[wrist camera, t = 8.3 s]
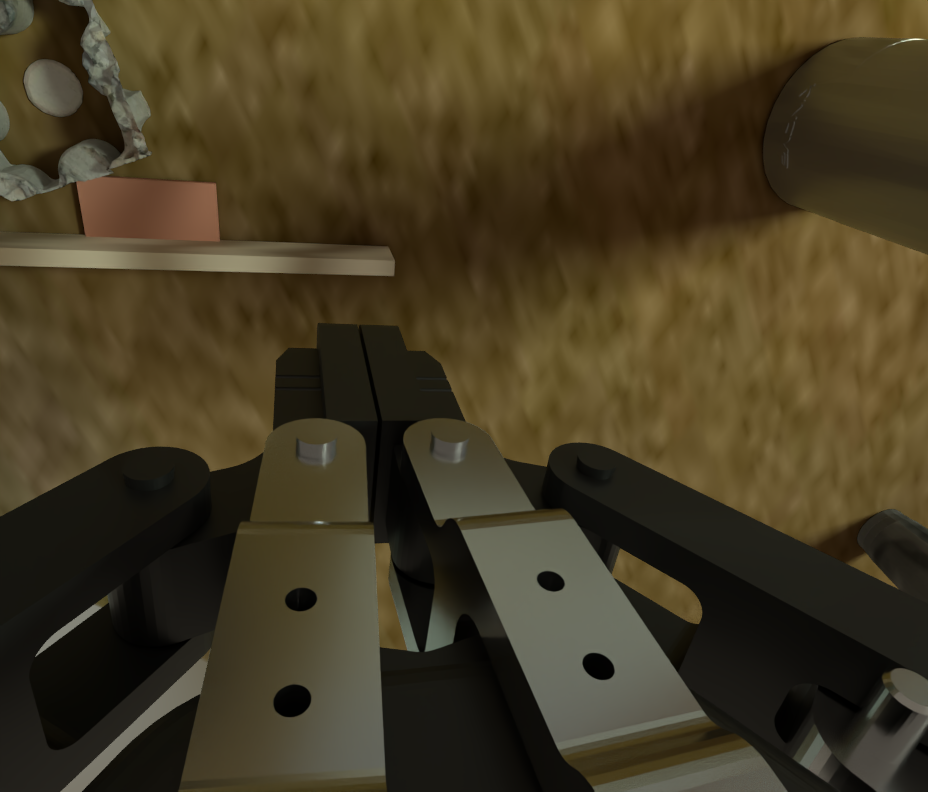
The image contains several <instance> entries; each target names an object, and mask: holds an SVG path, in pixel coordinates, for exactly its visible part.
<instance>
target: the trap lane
mask: <svg viewBox="0 0 928 792" xmlns="http://www.w3.org/2000/svg"><path fill="white" fill-rule="evenodd" d="M76 183H77V189H78V195H79V201H80V207H81V212H82V218H83V224H84V230H85V235H80V234H54V233H28V232H2V231H0V265H1V266H38V267H75V268H113V269H150V270H188V271H225V272H262V273H300V274H337V275H375V276H394V269H395V260H394V258H393V256H392V253H391V251H390V249H389V247H388V246H365V245H339V244H313V243H287V242H262V241H236V240H220V231H219V217H218V203H217V189H216V183H213V182H197V181H180V180H163V179H147V178H130V177H113V176H102V177H99V178H95V179H92V180H87V181H85V182H83V181H77V182H76Z"/></svg>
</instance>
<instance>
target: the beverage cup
mask: <svg viewBox="0 0 928 792" xmlns="http://www.w3.org/2000/svg"><path fill="white" fill-rule="evenodd" d="M857 541H858V544H859V545H860V546H861V547H862V548H863V549H864V550H865V552H866V553H867V554H868V555H869V557H870V558H871V559H872V561H873V562H874V563H875V564H876V565H877V566H878V567H879V568H880V569H881V570H882V571H883V572H884V574H885V575H886V576H887V577H888V578H889V579H890V580H891V581H892V582H893V583H894V584H895V585H896V586H897V588H898V589H899V590H901V591H903V592H905V593H907V594H909V595H911V596H913V597H915V598H917V599H919V600H921V601H923V602H925V603H927V604H928V529H927V528H925V527H924V526H922V525H921V524H919V523H918V522H916V521H914V520H912V519H910V518H909V517H907V516H905V515H903V514H902V513H901V512H900V511H897V510H895V509H889V510H885V511H882V512H880V513H878V514H876V515H874V516H873V517H872V518H870V519H869V520H868V521H867V522H866V523H865V524H864V525H863V526H862V528H861V530H860V531H859V534H858V537H857Z"/></svg>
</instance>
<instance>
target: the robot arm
mask: <svg viewBox="0 0 928 792" xmlns="http://www.w3.org/2000/svg"><path fill="white" fill-rule="evenodd" d="M763 161H764V168H765V173H766V176H767V178H768V181H769V183H770V186H771V187H772V189H773V190H774V191H775V193H776V194H777V195H778V197H780V198H781V199H783V200H784V201H785V202H787V203H788V204H790V205H793V206H796V207H798V208H801V209H804V210H807V211H809V212H812V213H815V214H818V215H820V216H823V217H826V218H828V219H831V220H834V221H836V222H839V223H841V224H844V225H847V226H849V227H852V228H855V229H858V230H861V231H863V232H866V233H869V234H872V235H875V236H877V237H880V238H883V239H886V240H888V241H891V242H894V243H897V244H900V245H902V246H905V247H908V248H911V249H913V250H916V251H919V252H922V253H925V254H927V255H928V39H906V38H866V37H859V38H851V39H844V40H842V41H839V42H836V43H834V44H831V45H829V46H827V47H825V48H824V49H822V50H821V51H819V52H818V53H816V54H814V55H813V56H812V57H811V58H810V59H808V60H807V61H806V62H805V63H804V64H803V65H802V66H801V67H800V68H799V69H798V70H797V71H796V72H795V74H794V75H793V76H792V77H791V79H790V80H789V81H788V82H787V84H786V85H785V87H784V88H783V90H782V92H781V93H780V95H779V97H778V99H777V100H776V102H775V104H774V107H773V109H772V112H771V114H770V117H769V120H768V123H767V127H766V132H765V136H764V144H763ZM446 378H447V377H446V375H445V373H444V370H443V368H442V366H441V364H440V363H439V362H438V361H437V360H435V359H434V358H433V357H431V356H430V355H429V354H428V353H426V352H425V351H407V350H406V347H405V344H404V341H403V338H402V335H401V332H400V330H399V327H398V326H384V325H359V329H358V326H357V325H353V324H326V323H318V327H317V349H313V348H288V349H287V350H286V351H285V352H284V353H283V354H282V355H281V356H280V357H279V358H278V359H277V360H276V379H275V400H274V422H273V431H272V432H271V433H270V435H269V436H268V437H267V440H266V443H265V448H264V452H263V453H262V454H260V455H259V456H257V457H256V458H254V459H252V460H250V461H248V462H246V463H243V464H240V465H238V466H234V467H230V468H226V469H221V470H217V471H212V472H210V471H209V467H208V465H207V463H206V462H205V461H204V460H203V459H202V458H201V457H200V456H198V455H197V454H195V453H193V452H190V451H187V450H184V449H179V448H173V447H147V448H141V449H136V450H132V451H128V452H125V453H122V454H119V455H117V456H114V457H112V458H110V459H108V460H106V461H104V462H103V463H101V464H99V465H97V466H95V467H93V468H91V469H89V470H87V471H86V472H84V473H82V474H80V475H78V476H76V477H74V478H72V479H70V480H69V481H67V482H65V483H63V484H61V485H59V486H57V487H55V488H53V489H52V490H50V491H48V492H46V493H44V494H42V495H40V496H38V497H37V498H35V499H33V500H31V501H29V502H27V503H25V504H23V505H21V506H20V507H18V508H16V509H14V510H12V511H10V512H8V513H6V514H4V515H3V516H1V517H0V792H60V791H61V790H62V789H63V788H65V787H66V785H68V784H69V783H70V782H71V781H72V780H73V779H74V778H75V777H76V776H77V775H78V774H79V773H80V772H81V771H82V770H83V769H85V768H86V767H87V766H88V765H89V764H90V763H91V762H92V761H93V760H94V759H95V758H96V757H97V756H98V755H99V754H100V753H101V752H102V751H104V750H105V749H106V748H107V747H108V746H109V745H110V744H111V743H112V742H113V741H114V740H115V739H116V738H117V737H118V736H119V735H120V734H121V733H122V732H124V731H125V730H126V729H127V728H128V727H129V726H130V725H131V724H132V723H133V722H134V721H135V720H136V719H137V718H138V717H139V716H140V715H141V714H142V713H144V712H145V710H147V709H148V708H149V707H150V706H151V705H152V704H153V703H154V702H155V701H156V700H157V699H158V698H159V697H160V696H161V695H162V694H164V693H165V692H166V691H167V690H168V689H169V688H170V687H171V686H172V685H173V684H174V683H175V682H176V681H177V680H178V679H179V678H180V677H181V676H182V675H184V674H185V673H186V671H188V670H189V669H190V668H191V667H192V666H193V665H194V664H195V663H196V662H197V661H198V660H199V659H200V658H201V657H203V656H204V655H205V654H206V653H207V651H208V650H209V649H210V648H211V650H210V654H209V659H208V663H207V668H206V672H205V677H204V681H203V686H202V690H201V694H200V695H198V696H196V697H194V698H192V699H190V700H189V701H187V702H185V703H183V704H181V705H180V706H178V707H176V708H175V709H173V710H172V711H170V712H169V713H167V714H166V715H165V716H163V717H161V718H160V719H158V720H157V721H156V722H154V723H153V724H152V725H150V726H149V727H148V728H147V729H146V730H144V731H143V732H142V733H141V734H140V735H138V736H137V737H136V738H135V739H134V740H132V741H131V743H129V744H128V745H127V746H126V747H125V748H124V749H123V750H122V751H121V752H120V753H119V754H118V755H117V756H116V757H115V758H114V759H113V760H112V761H111V762H110V763H109V764H108V766H106V767H105V769H104V770H103V771H102V772H101V773H100V774H99V775H98V776H97V777H96V778H95V779H94V780H93V781H92V782H91V783H90V784H89V785H88V786H87V787H86V788H85V789H84V790H83V791H82V792H928V604H927V603H925V602H923V601H921V600H919V599H917V598H915V597H913V596H911V595H909V594H907V593H905V592H903V591H901V590H899V589H897V588H895V587H893V586H891V585H888V584H886V583H884V582H882V581H880V580H878V579H876V578H874V577H872V576H870V575H868V574H866V573H864V572H862V571H860V570H858V569H856V568H854V567H852V566H849V565H847V564H845V563H843V562H841V561H839V560H837V559H835V558H833V557H831V556H829V555H827V554H825V553H823V552H821V551H819V550H817V549H815V548H813V547H811V546H808V545H806V544H804V543H802V542H800V541H798V540H796V539H794V538H792V537H790V536H788V535H786V534H784V533H782V532H780V531H778V530H776V529H774V528H772V527H770V526H767V525H765V524H763V523H761V522H759V521H757V520H755V519H753V518H751V517H749V516H747V515H745V514H743V513H741V512H739V511H737V510H735V509H733V508H731V507H728V506H726V505H724V504H722V503H720V502H718V501H716V500H714V499H712V498H710V497H708V496H706V495H704V494H702V493H700V492H698V491H696V490H694V489H692V488H690V487H687V486H685V485H683V484H681V483H679V482H677V481H675V480H673V479H671V478H669V477H667V476H665V475H663V474H661V473H659V472H657V471H655V470H653V469H651V468H649V467H646V466H644V465H642V464H640V463H638V462H636V461H634V460H632V459H630V458H628V457H626V456H624V455H622V454H620V453H618V452H616V451H613V450H611V449H609V448H606V447H603V446H599V445H595V444H589V443H569V444H564V445H561V446H559V447H557V448H555V449H554V450H553V451H552V452H551V454H550V456H549V460H548V464H547V467H544V466H539V465H533V464H528V463H522V462H517V461H513V460H509V459H506V458H503V456H502V455H501V453H500V451H499V450H498V448H497V447H496V445H495V443H494V442H493V440H492V439H491V437H490V436H489V435H488V434H487V433H486V432H485V431H483V430H482V429H480V428H479V427H477V426H475V425H472V424H470V423H467V422H466V421H465V419H464V417H463V414H462V412H461V410H460V407H459V405H458V403H457V400H456V398H455V396H454V394H453V392H451V387H450V384H449V382H448V380H446ZM375 543H389V545H390V550H391V557H390V566H389V576H388V579H389V585H390V588H391V592H392V596H393V599H394V603H395V606H396V610H397V614H398V617H399V621H400V625H401V628H402V632H403V635H404V639H405V643H406V646H407V650H408V651H406V650H397V649H389V648H381V647H379V628H378V607H377V586H376V564H375ZM620 548H621V549H623V550H625V551H626V552H628V553H630V554H632V555H633V556H635V557H637V558H639V559H640V560H642V561H644V562H646V563H647V564H649V565H651V566H653V567H654V568H656V569H658V570H660V571H661V572H663V573H665V574H667V575H668V576H670V577H672V578H674V579H675V580H677V581H679V582H681V583H683V584H684V585H686V586H687V587H688V588H690V589H691V590H692V591H693V592H694V593H695V595H696V596H697V597H698V599H699V601H700V603H701V606H702V618H701V621H700V623H699V624H693V623H690V622H687V621H685V620H683V619H682V618H680V617H678V616H677V615H675V614H673V613H672V612H670V611H668V610H667V609H665V608H663V607H662V606H660V605H658V604H657V603H655V602H653V601H652V600H650V599H648V598H647V597H645V596H643V595H642V594H640V593H638V592H637V591H635V590H633V589H632V588H630V587H628V586H627V585H625V584H623V583H622V582H620V581H618V580H617V579H615V578H613V576H612V575H611V574H612V571H613V568H614V565H615V562H616V559H617V556H618V553H619V550H620ZM106 595H108V601H109V603H108V604H106V605H105V606H104V607H102V608H101V609H100V610H98V611H97V612H96V613H94V614H93V615H92V616H90V617H89V618H87V619H86V620H85V621H83V622H82V623H81V624H79V625H78V626H77V627H75V628H74V629H73V630H71V631H70V632H69V633H67V634H66V635H65V636H63V637H62V638H60V639H59V640H58V641H57V642H55V643H54V644H52V645H51V646H50V647H48V648H47V649H46V650H44V651H43V652H42V653H40V654H39V655H37V656H36V654H37V653H38V651H39V650H40V648H41V647H42V646H43V644H44V643H45V642H46V641H47V640H48V639H49V638H50V637H51V636H52V635H53V634H54V633H56V632H57V631H58V630H60V629H61V628H62V627H64V626H65V625H66V624H68V623H69V622H71V621H72V620H73V619H75V618H76V617H77V616H79V615H80V614H81V613H83V612H84V611H85V610H87V609H88V608H90V607H91V606H92V605H94V604H95V603H97V602H98V601H99V600H101V599H102V598H104V597H105V596H106ZM35 656H36V657H35Z"/></svg>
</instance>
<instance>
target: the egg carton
mask: <svg viewBox="0 0 928 792" xmlns="http://www.w3.org/2000/svg"><path fill="white" fill-rule="evenodd" d="M59 1H60V2H63V3H65V4H67V5H72V6H82V7H85V9H86V10H87V13H88V15H89V24H88V25H87V27H86V29H85V31H84V33H83V35H82V38H81V43H80V45H81V46H82V48H83V49H84V52H83V55H82V65H83V66H84V68H85V69H86V70H87V72H88V74H89V79H88V83H89V84H90V85H92V86H93V87H94V88H95V89H96V90H98V91H99V92H100V93H101V94H103V95H105V96H107V97H108V100H109V103H110V106H111V109H112V112H113V114H114V116H115V118H116V120H117V123H118V125H119V127H120V129H121V131H122V135H123V138H124V145H125V149H124V151H123V152H122V154H121V153H120V152H119V151H118V150H117V149H116V148H115V147H114V146H112V145H111V144H109V143H107V142H105V141H102V140H99V139H87V140H84V141H82V142H80V143H78V144H76V145H74V146H72V147H70V148H69V149H67V150H66V151H65V152H64V153H63V154H62V156H61V157H60V160H59V165H58V172H59V179H56V180H55V179H51V178H50V177H49V176H48V175H47V174H45V173H44V172H43V171H41V170H40V169H38V168H36V167H34V166H31V165H24V164H21V165H11V164H10V163H9V162H8V160H7V159H6V158H5V156H4V155H3V153H2V152H1V150H0V195H1V196H3V197H4V198H6V199H8V200H10V201H19V200H23V199H26V198H28V197H31V196H33V195H35V194H39V193H45V192H48V191H52V190H55V189H58V188H61V187H64V186H65V185H66V184H69V183H73V182H77V181H83V182H85V181H87V180H92V179H95V178H99V177H102V176H105V175H109V174H112V173H113V172H112V171H111V170H110V169H111V168H114V167H118V166H121V165H123V164H127V163H130V162H133V161H136V160H138V159H141V158H144V157H147V156H150V155H151V154H152V152H150V151H148V148H147V146H146V143H145V138H144V136H143V134H142V133H141V128H142V126H143V124H144V122H145V121H146V120H147V119H148V118H149V117H150V116H151V114H150V108H149V106H148V104H147V102H146V100H145V99H144V97H143V95H142V93H141V91H130V90H126V89H123V88H122V86H121V83H120V80H119V78H118V73H119V72H120V69H119V66H118V63H117V61H116V59H115V57H114V55H113V53H112V51H111V48H110V46H109V44H108V43H107V41H106V39H105V37H106V36H107V35H109V34H110V31H109V29H108V27H107V26H106V24H105V23H104V21H103V20H102V19H101V17H100V16H99V14H98V13H97V11H96V9H95V7H94V4H93V2H92V0H59ZM33 16H34V6H33V0H0V35H3V34H16V33H19V32H21V31H23V30H25V29H26V28H27V27H28V26H29V25H30V24H31V22H32V20H33ZM24 85H25V89H26V92H27V95H28V98H29V99H30V101H31V102H32V103H33V104H34V105H35V106H36V107H37V108H39V109H40V110H41V111H43V112H45V113H47V114H50V115H53V116H56V117H65V116H70V115H72V114H73V113H75V112H76V111H77V109H78V108H79V107H80V105H81V104H82V98H83V90H82V87H81V84H80V81H79V80H78V79H77V78H76V76H75V74H74V73H73V72H71V69H69V68H68V67H66V66H65V65H63V64H62V63H59V62H57V61H55V60H49V59H41V60H37V61H35V62H33V63H32V64H30V66H29V67H28V68H27V70H26V71H25V75H24ZM9 125H10V122H9V117H8V113H7V110H6V108H5V107H4V106H3V104H2V103H1V101H0V141H1V140H2V139H4V138H5V136H6V135H7V133H8V131H9Z"/></svg>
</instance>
